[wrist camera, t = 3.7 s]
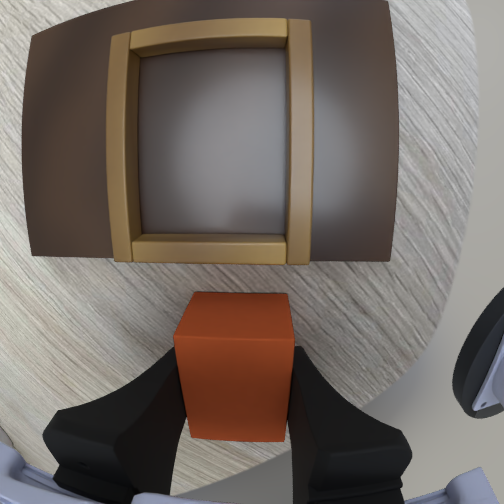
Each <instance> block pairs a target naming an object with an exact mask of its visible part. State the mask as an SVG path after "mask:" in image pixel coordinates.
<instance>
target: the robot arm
mask: <svg viewBox="0 0 504 504" xmlns="http://www.w3.org/2000/svg"><path fill="white" fill-rule="evenodd" d="M497 403H501V405H502V406H503V407H504V334H503V337H502V340H501V342H500V345H499V348H498V350H497V353H496V355H495V358H494V360H493V362H492V365H491V367H490V369H489V371H488V374H487V376H486V378H485V380H484V382H483V384H482V386H481V388H480V391H479V393H478V395H477V397H476V398H475V400H474V402H473V404H472V409H473V410H474V411H477V410H480V409H483V408H486V407H489V406H492V405H495V404H497ZM186 417H187V415H186V410H185V405H184V399H183V394H182V388H181V383H180V377H179V371H178V365H177V359H176V352H175V346H174V347H172V348H171V349H170V350H169V351H168V352H167V353H166V354H165V355H164V356H163V357H162V358H160V359H159V360H158V361H157V362H156V363H155V364H154V365H152V366H151V367H150V368H149V369H148V370H146V371H145V372H144V373H142V374H141V375H140V376H139V377H137V378H136V379H134V380H133V381H131V382H130V383H128V384H126V385H125V386H123V387H121V388H120V389H118V390H116V391H114V392H112V393H110V394H108V395H106V396H104V397H101V398H99V399H96V400H94V401H91V402H88V403H85V404H82V405H79V406H75V407H71V408H67V409H62V410H58V411H57V412H56V414H55V415H54V417H53V418H52V420H51V421H50V423H49V424H48V426H47V427H46V428H45V430H44V432H43V434H42V435H43V440H44V442H45V444H46V446H47V448H48V449H49V451H50V452H51V453H52V455H53V456H54V458H55V459H56V461H57V462H58V463H59V467H58V469H57V471H56V473H55V474H54V475H52V474H49V473H47V472H45V471H43V470H40V469H38V468H36V467H34V466H32V465H30V464H28V463H26V462H25V460H24V458H23V457H22V456H21V454H20V453H19V452H17V451H16V450H15V449H13V448H12V447H10V446H8V445H6V444H4V443H2V442H1V441H0V504H237V503H227V502H214V501H204V500H196V499H188V498H181V497H175V496H170V488H171V481H172V474H173V468H174V462H175V457H176V452H177V446H178V442H179V439H180V435H181V432H182V429H183V426H184V423H185V420H186ZM287 422H288V428H289V434H290V440H291V448H292V469H293V470H292V471H293V504H499V502H498V500H497V498H496V496H495V494H494V492H493V490H492V488H491V486H490V484H489V482H488V480H487V478H486V476H485V474H484V472H483V470H482V468H481V467H478V468H476V469H473V470H471V471H468V472H466V473H463V474H461V475H458V476H457V477H455V478H454V479H452V480H451V481H450V482H449V483H448V485H447V486H446V488H444V489H441V490H439V491H436V492H432V493H429V494H426V495H423V496H420V497H416V498H413V499H409V500H406V501H404V499H403V496H402V493H401V490H400V488H402V486H403V483H402V481H401V475H402V474H403V472H404V471H405V469H406V468H407V466H408V465H409V463H410V461H411V459H412V451H411V448H410V446H409V444H408V442H407V440H406V438H405V436H404V435H403V433H402V431H401V430H399V429H396V428H394V427H391V426H389V425H387V424H384V423H382V422H380V421H378V420H376V419H374V418H372V417H371V416H369V415H367V414H365V413H364V412H362V411H361V410H359V409H358V408H356V407H355V406H354V405H352V404H351V403H349V402H348V401H347V400H346V399H345V398H343V397H342V396H341V395H340V394H339V393H338V392H337V391H336V390H335V389H334V388H333V387H332V386H331V385H330V384H329V383H328V382H327V381H326V379H325V378H324V377H323V376H322V375H321V373H320V372H319V371H318V370H317V368H316V367H315V366H314V364H313V363H312V361H311V360H310V359H309V357H308V356H307V354H306V352H305V351H304V349H303V348H302V347H301V346H294V357H293V368H292V379H291V389H290V398H289V407H288V416H287Z"/></svg>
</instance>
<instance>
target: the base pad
mask: <svg viewBox="0 0 504 504" xmlns="http://www.w3.org/2000/svg"><path fill="white" fill-rule="evenodd" d="M398 157H399V109H398V85H397V70H396V58H395V48H394V39H393V31H392V23H391V16H390V10H389V4H388V1H385V0H134V1H130V2H126V3H122V4H118V5H114V6H111V7H107V8H104V9H101V10H97V11H94V12H91V13H88V14H85V15H82V16H79V17H76V18H74V19H71V20H68V21H66V22H63V23H60V24H58V25H55V26H53V27H51V28H48V29H46V30H44V31H41V32H39V33H37V34H35V35H33V36H32V38H31V43H30V49H29V55H28V62H27V69H26V77H25V86H24V97H23V111H22V176H23V191H24V203H25V212H26V221H27V228H28V235H29V242H30V248H31V254H32V256H46V257H85V258H114V261H115V262H133V261H134V262H139V263H185V264H246V265H285V264H286V263H287V264H288V265H309V263H310V261H369V262H389V261H390V257H391V249H392V241H393V232H394V222H395V211H396V198H397V182H398Z"/></svg>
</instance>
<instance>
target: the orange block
mask: <svg viewBox="0 0 504 504" xmlns="http://www.w3.org/2000/svg"><path fill="white" fill-rule="evenodd" d="M173 339H174V346H175V352H176V359H177V365H178V371H179V377H180V383H181V388H182V394H183V399H184V405H185V410H186V415H187V420H188V425H189V429H190V434H191V437H192V438H199V439H210V440H224V441H243V442H284V440H285V433H286V425H287V416H288V407H289V398H290V389H291V379H292V368H293V357H294V346H295V337H294V331H293V324H292V318H291V312H290V306H289V300H288V295H287V294H263V293H214V292H194V294H193V296H192V298H191V300H190V302H189V304H188V306H187V308H186V310H185V312H184V314H183V316H182V318H181V320H180V323H179V325H178V327H177V329H176V331H175V333H174V335H173Z"/></svg>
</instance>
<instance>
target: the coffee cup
mask: <svg viewBox="0 0 504 504" xmlns="http://www.w3.org/2000/svg"><path fill="white" fill-rule="evenodd" d="M0 441H1V442H2V443H4V444H6V445H8V446H10V447H12V448H13V444H12V442H11V440H10V439H9V437H8V436H7V434H6V433H5V432H4V431H3V429H2V428H1V427H0Z"/></svg>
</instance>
